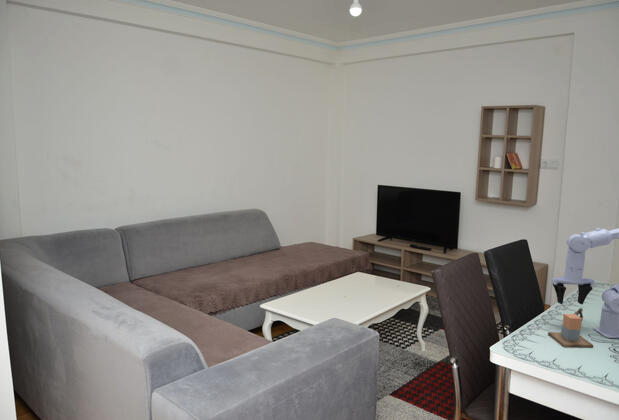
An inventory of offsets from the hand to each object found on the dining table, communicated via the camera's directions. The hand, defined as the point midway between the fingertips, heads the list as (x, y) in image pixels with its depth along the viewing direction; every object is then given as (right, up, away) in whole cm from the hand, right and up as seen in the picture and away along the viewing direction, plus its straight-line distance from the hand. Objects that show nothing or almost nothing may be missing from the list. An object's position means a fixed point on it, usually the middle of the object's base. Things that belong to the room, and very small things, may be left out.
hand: (570, 303), depth 172 cm
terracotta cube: (-6, -6, -11) cm, 14 cm away
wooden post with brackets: (+7, -9, +9) cm, 14 cm away
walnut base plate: (-6, -11, -11) cm, 16 cm away
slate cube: (-6, -10, -10) cm, 15 cm away
